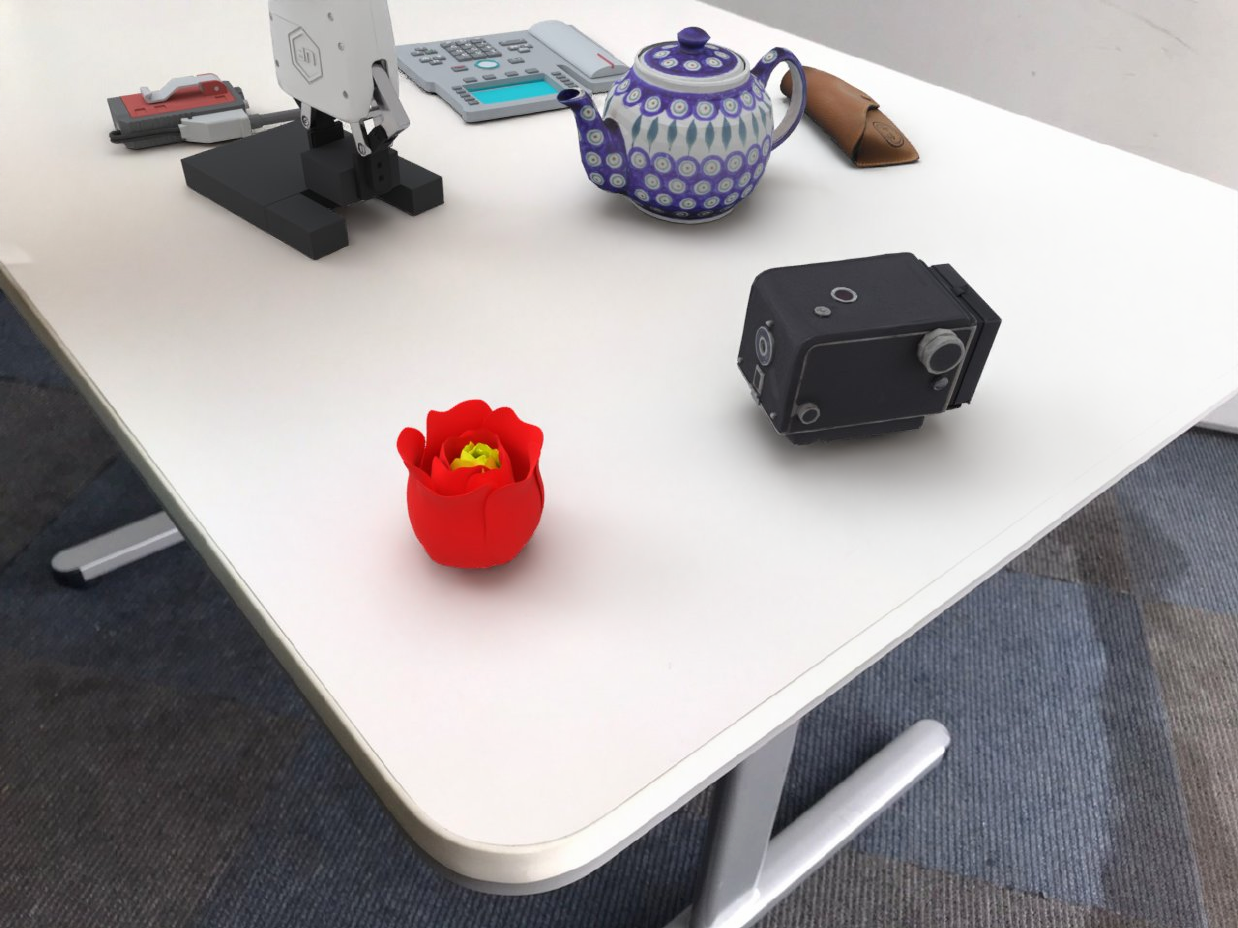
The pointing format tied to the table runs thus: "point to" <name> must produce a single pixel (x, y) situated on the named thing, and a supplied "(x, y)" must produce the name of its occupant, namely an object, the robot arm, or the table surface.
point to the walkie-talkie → (187, 113)
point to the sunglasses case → (852, 120)
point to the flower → (473, 484)
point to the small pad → (338, 170)
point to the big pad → (292, 188)
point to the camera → (862, 345)
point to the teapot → (685, 127)
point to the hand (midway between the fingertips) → (352, 181)
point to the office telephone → (510, 69)
